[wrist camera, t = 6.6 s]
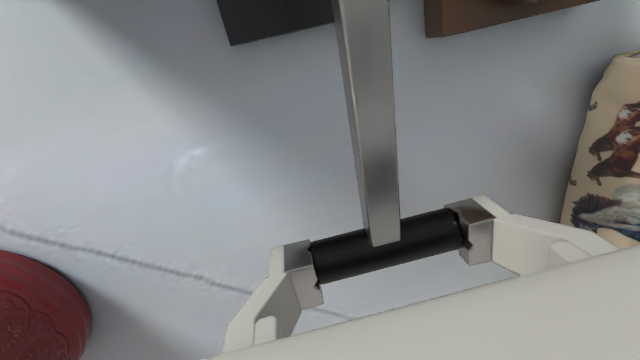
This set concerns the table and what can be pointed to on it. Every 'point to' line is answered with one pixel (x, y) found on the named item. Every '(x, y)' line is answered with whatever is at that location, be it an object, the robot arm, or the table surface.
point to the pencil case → (609, 158)
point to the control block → (483, 13)
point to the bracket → (271, 17)
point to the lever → (376, 157)
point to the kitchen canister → (39, 312)
